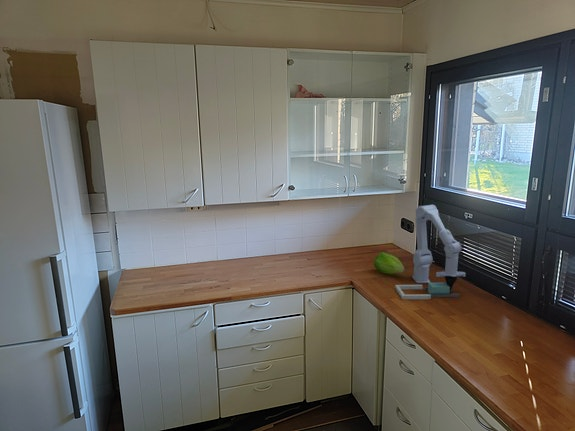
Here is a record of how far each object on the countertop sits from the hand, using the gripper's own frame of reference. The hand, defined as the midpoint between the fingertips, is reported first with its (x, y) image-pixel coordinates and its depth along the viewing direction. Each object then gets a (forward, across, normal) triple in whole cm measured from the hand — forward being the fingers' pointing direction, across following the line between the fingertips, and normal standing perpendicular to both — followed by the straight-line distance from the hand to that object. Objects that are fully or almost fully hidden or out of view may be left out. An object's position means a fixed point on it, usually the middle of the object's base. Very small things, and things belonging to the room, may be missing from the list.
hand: (449, 289), depth 201 cm
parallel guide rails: (+2, -4, 0) cm, 5 cm away
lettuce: (+3, -25, +28) cm, 37 cm away
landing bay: (+2, -19, 0) cm, 19 cm away
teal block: (+2, -6, 0) cm, 6 cm away
